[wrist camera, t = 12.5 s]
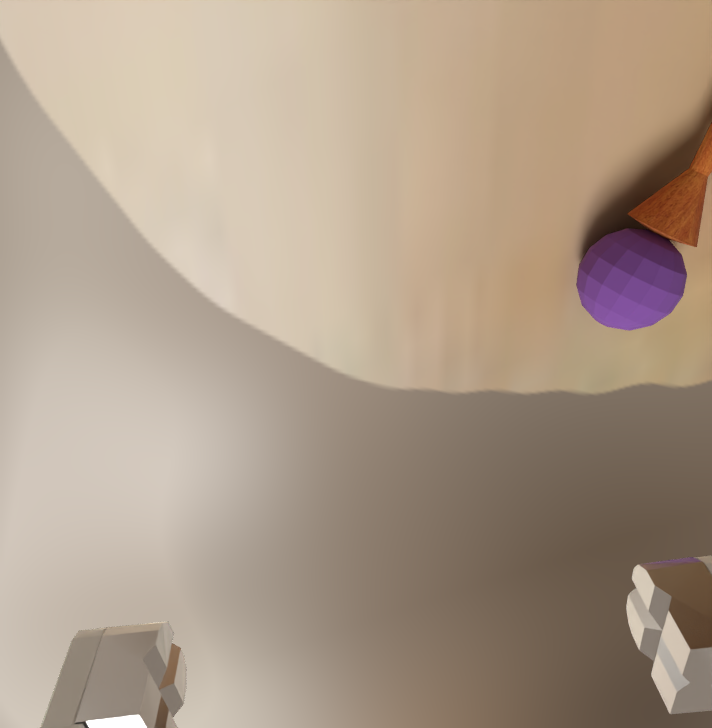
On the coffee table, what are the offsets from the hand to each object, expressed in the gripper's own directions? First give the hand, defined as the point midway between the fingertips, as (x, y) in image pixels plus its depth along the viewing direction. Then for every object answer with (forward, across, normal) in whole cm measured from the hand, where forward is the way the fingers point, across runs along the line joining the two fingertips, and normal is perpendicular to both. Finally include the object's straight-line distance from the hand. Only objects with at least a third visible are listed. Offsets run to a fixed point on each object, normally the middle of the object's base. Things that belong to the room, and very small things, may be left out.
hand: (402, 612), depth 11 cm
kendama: (+30, -20, +2) cm, 36 cm away
